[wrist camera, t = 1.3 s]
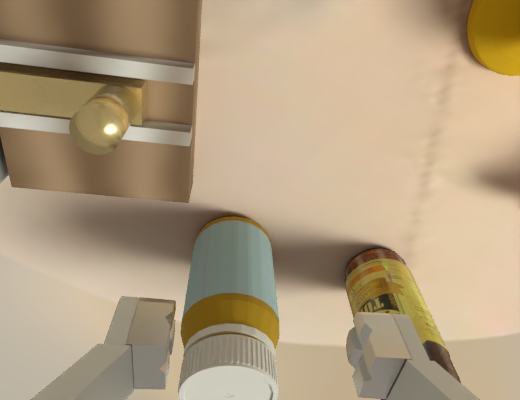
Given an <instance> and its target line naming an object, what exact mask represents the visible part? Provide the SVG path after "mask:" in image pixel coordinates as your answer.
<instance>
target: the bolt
mask: <svg viewBox="0 0 520 400" xmlns="http://www.w3.org/2000/svg"><path fill="white" fill-rule="evenodd" d="M0 110H4V111H13V112H23V113H32V114H41V115H50V116H59V117H69V118H71V120H70V123H69V132H70V135H71V137H72V139H73V141H74V142H75V143H76V144H77V145H78V146H79V147H80V148H81V149H83V150H84V151H86V152H88V153H91V154H96V155H103V154H107V153H110V152H112V151H113V150H114V149H115V148H116V147H117V146H118V144H119V143H120V141H121V139H122V138H123V136H124V135H125V133H126V131H127V130H128V128H129V127H130V125H131V124H133V125H143V123H144V121H145V119H146V117H147V87H146V81H143V80H134V79H126V78H118V77H109V76H101V75H93V74H84V73H76V72H68V71H59V70H51V69H43V68H34V67H26V66H18V65H9V64H1V63H0Z"/></svg>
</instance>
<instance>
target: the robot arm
mask: <svg viewBox="0 0 520 400" xmlns="http://www.w3.org/2000/svg"><path fill="white" fill-rule="evenodd" d="M175 310H176V301H175V300H163V299H152V298H141V297H140V298H137V297H126V296H122V297H121V298H120V300H119V302H118V305H117V308H116V311H115V314H114V316H113V319H112V322H111V325H110V328H109V331H108V334H107V336H106V339H105V342H104V344H97V345H96V346H95V347H94V348H93V349H91V350H90V351H89V352H88V353H87V354H85V355H84V356H83V357H82V358H81V359H79V360H78V361H77V362H76V363H75V364H73V365H72V366H71V367H70V368H68V369H67V370H66V371H65V372H63V373H62V374H61V375H60V376H59V377H57V378H56V379H55V380H54V381H53V382H51V383H50V384H49V385H48V386H47V387H46V388H44V389H43V390H42V391H41V392H39V393H38V394H37V395H36V396H35V397H34V398H32V399H31V400H126V399H127V398H128V397H129V396H130V395H131V394H132V392H133V391H134V389H165V388H166V382H167V376H168V371H169V357H170V355H171V353H172V347H173V341H174V332H175V320H174V315H175ZM353 322H354V325H355V327H354V328H352V329H351V330H350V331H349V333H348V337H347V344H346V349H347V356H348V360H349V363H350V364H351V365H352V366H353V367H354V368H355V371H354V374H353V380H354V383H355V387H356V391H357V395H358V397H362V398H376V399H387V400H480V399H478V398H477V397H476V396H475V395H474V394H473V393H471V392H470V391H469V390H468V389H467V388H466V387H464V386H463V385H462V384H461V383H460V382H459V381H457V380H456V379H455V378H454V377H453V376H452V375H450V374H449V373H448V372H447V371H446V370H445V369H443V368H442V367H441V366H440V365H439V364H438V363H436V362H435V361H430V360H429V357H428V355H427V353H426V351H425V349H424V347H423V345H422V343H421V340H420V338H419V336H418V334H417V332H416V330H415V328H414V325H413V323H412V321H411V319H410V317H409V316H408V315H407V314H389V313H372V312H357V313H356V314H355V317H354V320H353Z"/></svg>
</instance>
